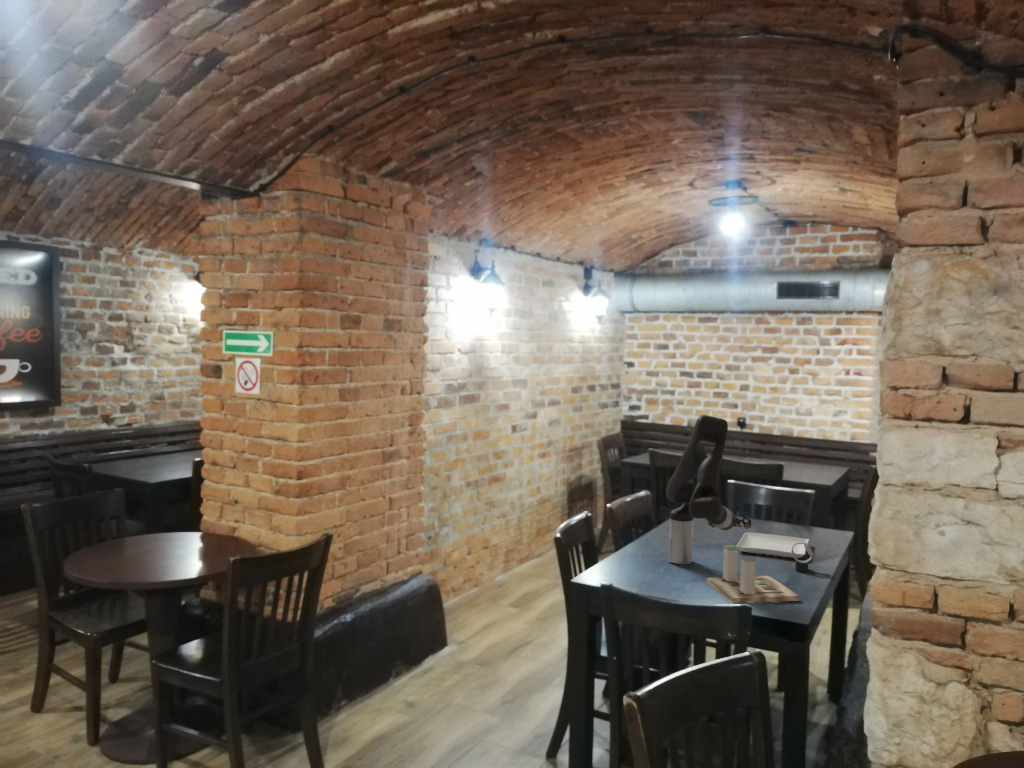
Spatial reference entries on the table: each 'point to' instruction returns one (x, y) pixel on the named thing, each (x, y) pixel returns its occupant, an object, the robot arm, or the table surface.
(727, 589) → the switch board
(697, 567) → the table surface
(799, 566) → the watch
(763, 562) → the table surface
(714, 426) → the robot arm
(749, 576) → the near switch
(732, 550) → the tall beige block
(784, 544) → the square plate
